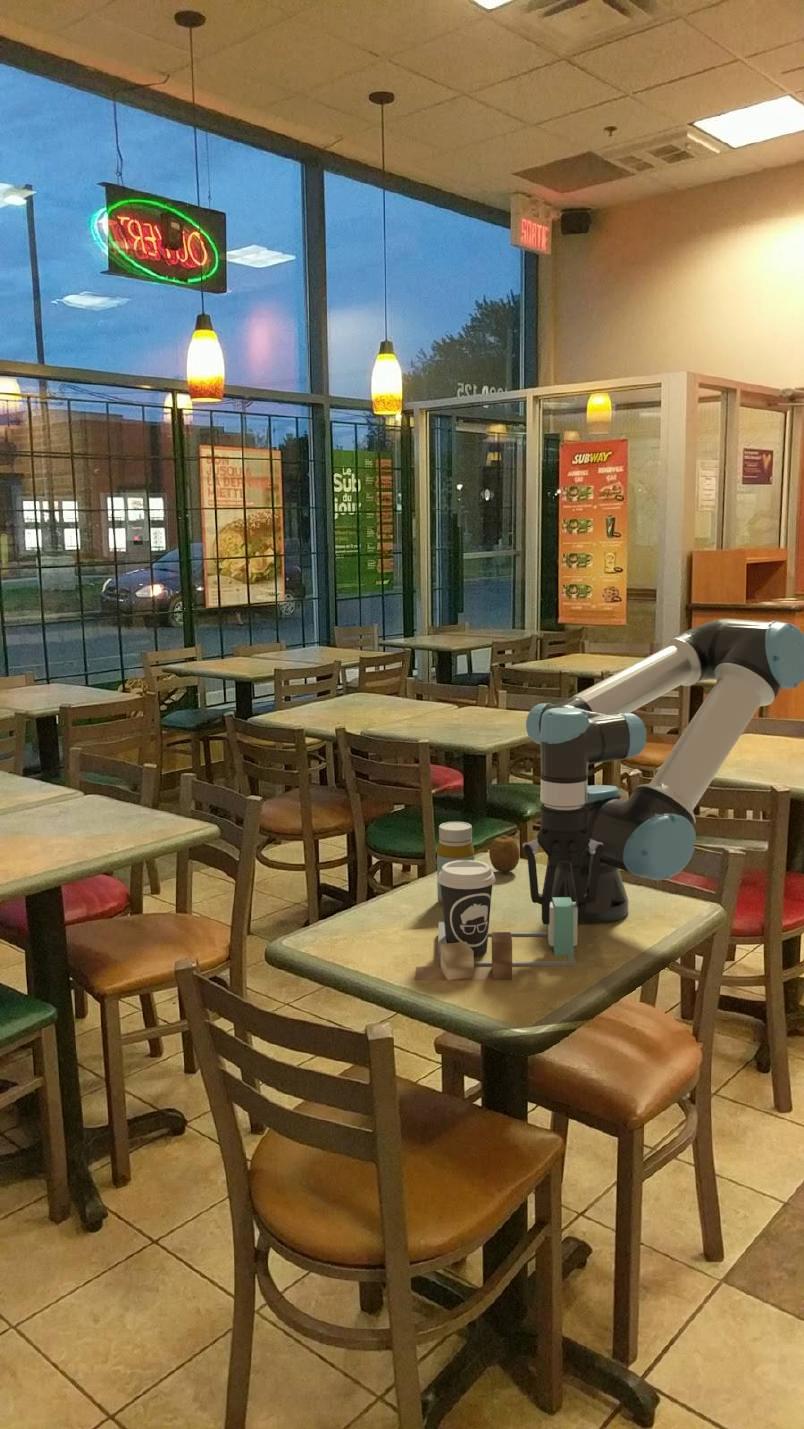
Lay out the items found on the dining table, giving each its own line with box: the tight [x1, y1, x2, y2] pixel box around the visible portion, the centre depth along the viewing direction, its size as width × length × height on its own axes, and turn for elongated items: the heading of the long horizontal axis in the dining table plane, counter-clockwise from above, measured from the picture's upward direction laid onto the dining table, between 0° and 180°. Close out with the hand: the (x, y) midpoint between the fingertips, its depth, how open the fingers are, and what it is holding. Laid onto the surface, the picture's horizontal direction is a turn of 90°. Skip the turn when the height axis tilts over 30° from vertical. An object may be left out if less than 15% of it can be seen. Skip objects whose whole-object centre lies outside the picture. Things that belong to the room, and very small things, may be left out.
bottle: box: [436, 821, 475, 906], centre depth 198 cm, size 7×7×15 cm
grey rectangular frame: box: [437, 897, 577, 967], centre depth 174 cm, size 22×14×9 cm, turn 87°
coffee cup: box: [436, 859, 497, 958], centre depth 173 cm, size 10×10×15 cm
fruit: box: [488, 834, 521, 874], centre depth 216 cm, size 6×6×8 cm
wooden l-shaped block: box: [414, 931, 513, 981], centre depth 165 cm, size 15×5×7 cm, turn 87°
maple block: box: [440, 942, 475, 981], centre depth 165 cm, size 4×4×4 cm
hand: (562, 942), depth 174 cm, fingers closed on grey rectangular frame, 3 cm apart
